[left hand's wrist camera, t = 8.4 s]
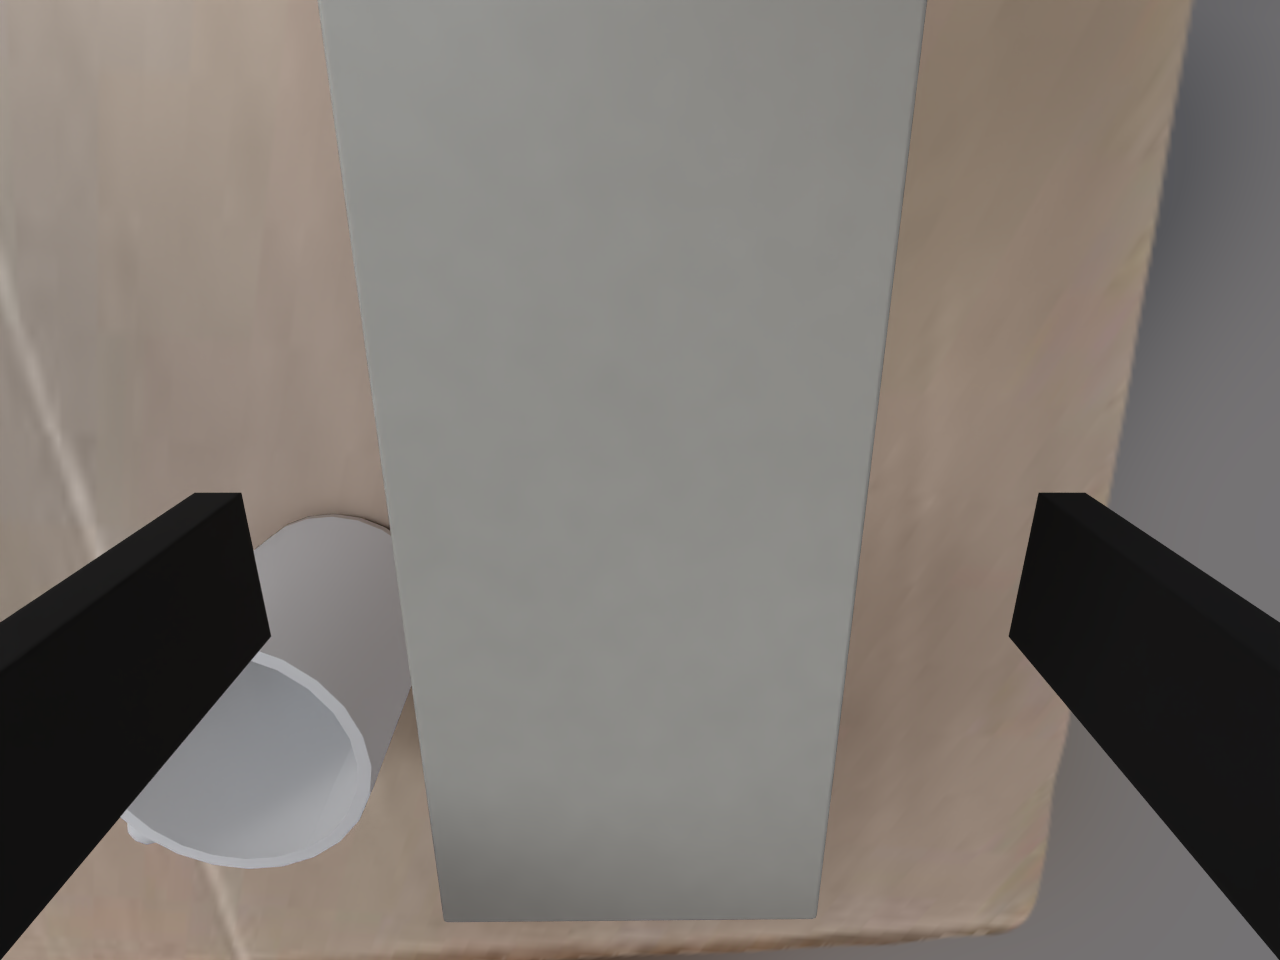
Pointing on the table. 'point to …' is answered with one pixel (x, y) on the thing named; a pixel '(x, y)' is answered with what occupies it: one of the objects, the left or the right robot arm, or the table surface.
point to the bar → (625, 423)
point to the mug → (293, 709)
